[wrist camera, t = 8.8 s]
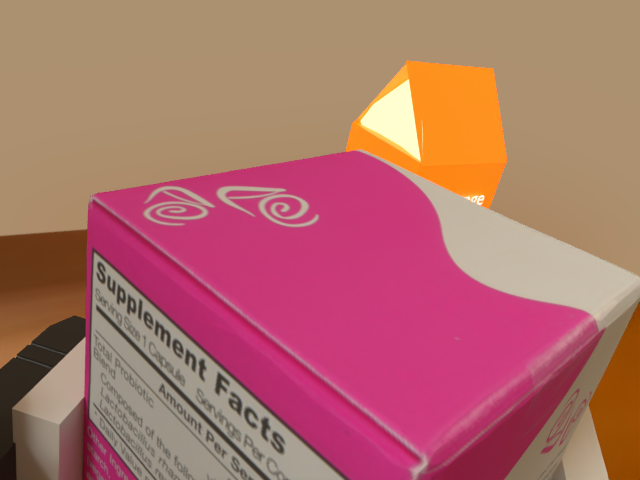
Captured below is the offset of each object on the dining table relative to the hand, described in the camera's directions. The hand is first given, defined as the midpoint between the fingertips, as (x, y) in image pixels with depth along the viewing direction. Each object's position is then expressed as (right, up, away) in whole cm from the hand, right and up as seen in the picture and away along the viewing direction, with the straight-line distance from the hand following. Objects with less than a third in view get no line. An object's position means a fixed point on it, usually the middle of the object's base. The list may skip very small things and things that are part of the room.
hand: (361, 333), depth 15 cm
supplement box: (-2, -8, -1) cm, 8 cm away
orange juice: (+4, -3, +36) cm, 36 cm away
